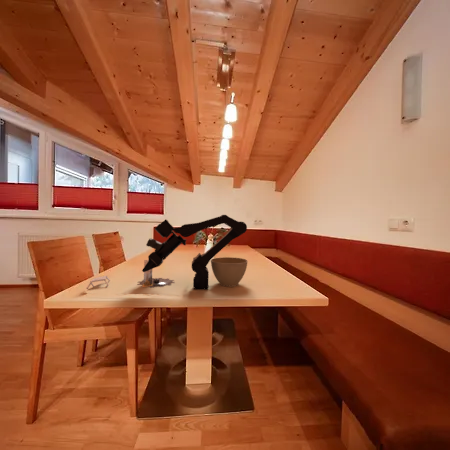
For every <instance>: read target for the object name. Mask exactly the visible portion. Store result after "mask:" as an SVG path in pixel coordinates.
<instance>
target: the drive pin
mask: <svg viewBox="0 0 450 450" xmlns="http://www.w3.org/2000/svg"><path fill="white" fill-rule="evenodd" d="M148 261H149V259H144V261H143V268H144V267H145V265H146V264H147V263H148ZM152 278H153V269H150V270H148V271H145V272H143V280H144V286H145V287H147V286H150V285H152Z"/></svg>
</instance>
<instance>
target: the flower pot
mask: <svg viewBox="0 0 450 450" xmlns="http://www.w3.org/2000/svg"><path fill="white" fill-rule="evenodd" d="M210 263H211V264H210V266H211V269H212V273H213V276H214V277H215V279H216V280H217V282H218V283H219V284H220V286H224V287H235V286H237V285H239V283H240V282H241V281H242V279H243V278H244V277H245V276H244V275H245V273H246V270H247V266H248V260H247V259H245V258H241V257H229V256H228V257H226V256H224V257H213V258H212V259H211V260H210Z"/></svg>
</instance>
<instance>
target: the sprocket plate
mask: <svg viewBox="0 0 450 450" xmlns="http://www.w3.org/2000/svg"><path fill="white" fill-rule="evenodd" d="M175 283H176V282H175V280H174V279H170V278H163V277H158V278H157V277H155V278H153V277H152V285H150V286H144V279H142V280H141V281H137V286H141V287H143V288H144V287H146V288H147V287H149V288H152V289H153V288H157V287H158V288H164V287H165V286H172V284H175Z"/></svg>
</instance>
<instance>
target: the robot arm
mask: <svg viewBox="0 0 450 450" xmlns="http://www.w3.org/2000/svg"><path fill="white" fill-rule="evenodd" d="M221 224H224V225H226V226H228V227H229V229H228V231H227V233H226V234H225V235H223V236H222V237H221V238H220V239H219V240H218V241H217V242H215V243H214V244H213V245H211V247H210V248H209V249H208V250H207V251H206V252H203V254H201V253H200V252H198V254H197V255H196V256H195V257H193V258H192V261H191V270H192V271H193V272H194V273H195V274H194V276H193V283H192V285H193V290H209V280H210V279H209V273H210V272H209V270H208V267H207V266H208V264H209V263H210V262H211V259H214V258H215V256H217V254H218V253H219V252H221V251H222V250H223V249H224V248H225V247H227V245H229V243H231V242H232V241H233V240H235V239H236V238H238V237H240V236H242V235H244V234H245V233H246V232H247V230H248V227H247V224H246V223H245V222H244V221H239V220H235V219H234V218H232V217H229V216H228V215H227V214H222V215H220V216H216V217H213V218H210V219H206V220H203V221H200V222H196V223H194V222H193V223H192V222H191V223H185V224H182V225H181V226H179V227H178V226H177V227H174V226H173V225H172V224H171V223H170V222H169V220H168V219H165V220H163V221H162V222H161V223H159V224H158V225H157V226H155V228H154V230H155V231H156V233H157V234H159V235H160V236H161V237H162V238H166V240H165V241H163V242H160V241H158V240H156V239H155V238H152V237H151V238H148V241H147V242H146V247H149V248H152V249H154V251H152V252H151V253H150V254H149V255H148V257H147V258H148V259H147V260H149V261H148V263H147V264H146V265H145V267H144V266H143V268H142V270H141V271H142V272H143V273H144V272H145V271H148V270H150V269H152V270H153V269H155V268H158V267H160V266H161V265H162V264H163V263H164V261H165V260H166V259H167V258H168V257H169V256H170V255H171V254H172V253H173V252H174V251H175V250H176V249H177V248H178V247H179V246H180V245H181V244H182V245H183V246H186V245H187V239H186V238H188V237H190V236H193V235H194V234H196V233H198V232H200V231H203V230H206V229H209V228H212V227H213V228H214V227H215V226H218V225H221ZM178 234H179V235H178Z"/></svg>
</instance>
